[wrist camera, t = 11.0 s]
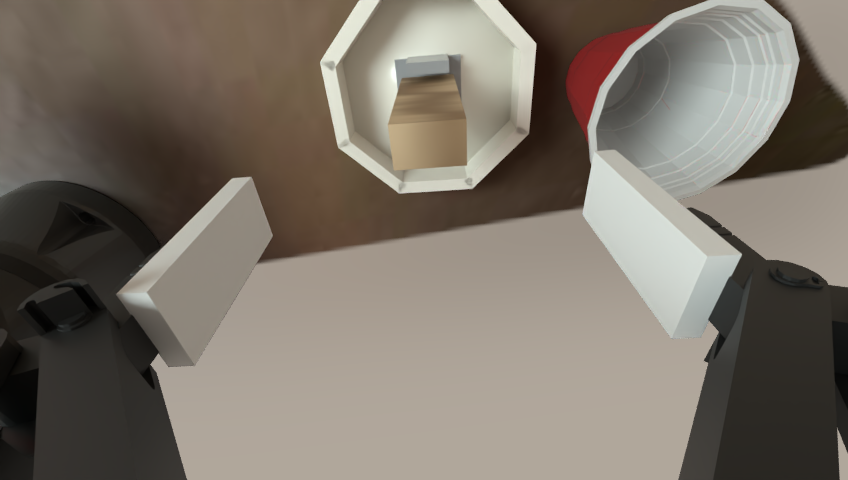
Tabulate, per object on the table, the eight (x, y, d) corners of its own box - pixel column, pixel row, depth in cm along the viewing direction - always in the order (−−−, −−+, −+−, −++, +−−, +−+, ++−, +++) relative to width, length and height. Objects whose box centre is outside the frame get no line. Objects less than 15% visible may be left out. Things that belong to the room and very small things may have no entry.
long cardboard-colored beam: (405, 110, 30) (393, 170, 20) (401, 78, 29) (387, 124, 19) (454, 107, 30) (467, 165, 20) (453, 73, 29) (466, 118, 19)
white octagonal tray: (355, 179, 35) (348, 198, 32) (317, -14, 26) (302, -14, 23) (516, 168, 34) (525, 186, 31) (530, -34, 26) (544, -37, 23)
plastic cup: (659, 134, 32) (763, 198, 22) (533, 148, 33) (578, 216, 23) (694, -17, 26) (858, -22, 16) (539, 5, 27) (603, 13, 17)
